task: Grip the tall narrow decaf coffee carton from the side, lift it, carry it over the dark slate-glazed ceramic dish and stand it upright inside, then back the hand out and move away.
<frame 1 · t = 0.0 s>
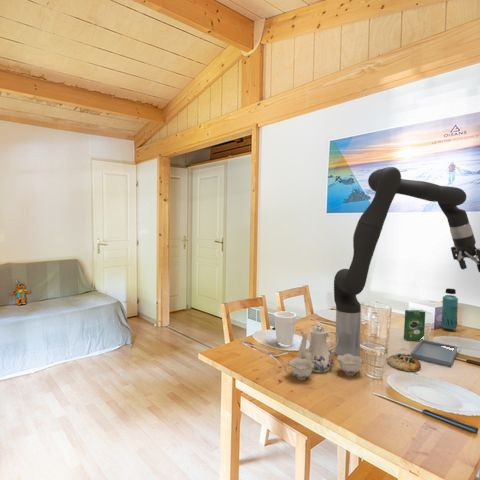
hand: (472, 270, 139), 31 cm above the table, tool tilted 20°, fingers open, 8 cm apart
dish: (434, 354, 129), on the table
chinaware: (321, 372, 115), on the table
foam cup: (284, 345, 140), on the table
bread roll: (403, 366, 119), on the table
coffee box: (414, 340, 145), on the table
beverage bottle: (449, 330, 158), on the table
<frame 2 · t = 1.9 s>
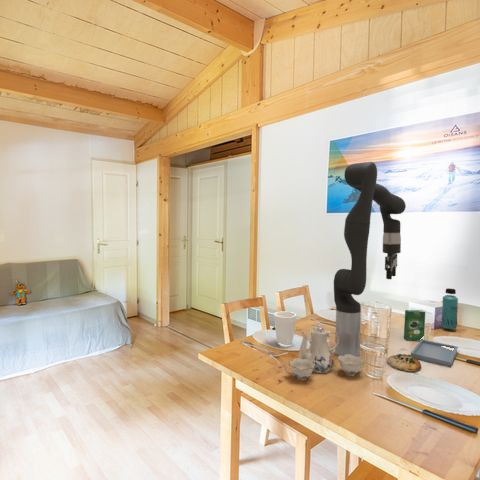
hand: (391, 277, 152), 26 cm above the table, tool pointing down, fingers open, 8 cm apart
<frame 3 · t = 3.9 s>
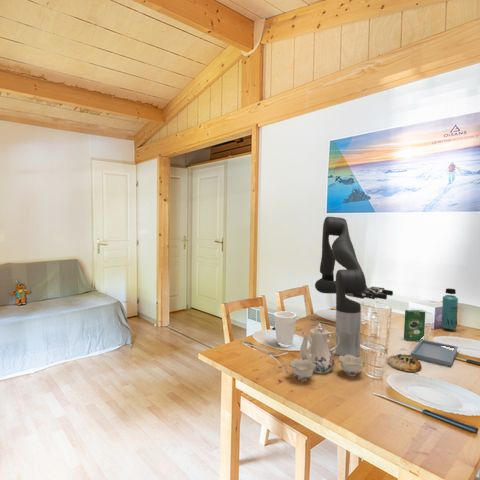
hand: (389, 295, 151), 18 cm above the table, tool horizontal, fingers open, 8 cm apart
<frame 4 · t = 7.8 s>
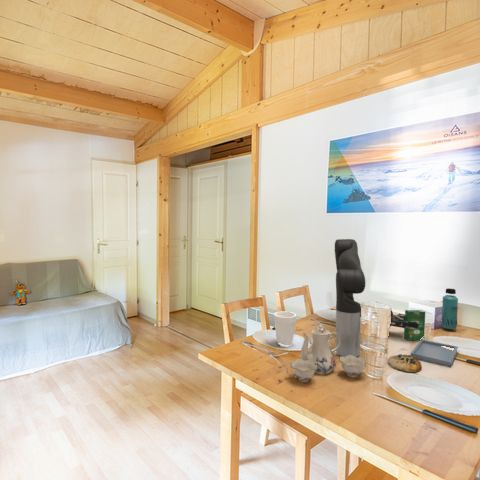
hand: (420, 323, 143), 8 cm above the table, tool horizontal, fingers closed on coffee box, 7 cm apart
coffee box: (414, 340, 145), on the table, touching gripper
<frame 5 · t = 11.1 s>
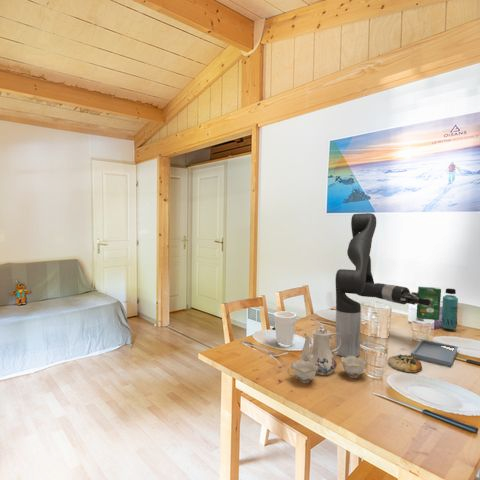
hand: (434, 301, 133), 20 cm above the table, tool horizontal, fingers closed on coffee box, 7 cm apart
coffee box: (427, 319, 135), point 12 cm above the table, touching gripper
when the fingers open (9 cm above the table, at t = 14.4 s): coffee box drops 1 cm, resting on dish.
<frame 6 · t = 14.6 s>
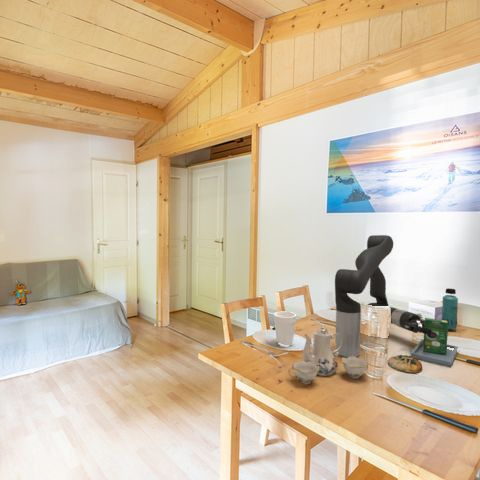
hand: (439, 331, 127), 10 cm above the table, tool horizontal, fingers open, 8 cm apart
coffee box: (434, 353, 129), point 1 cm above the table, touching dish
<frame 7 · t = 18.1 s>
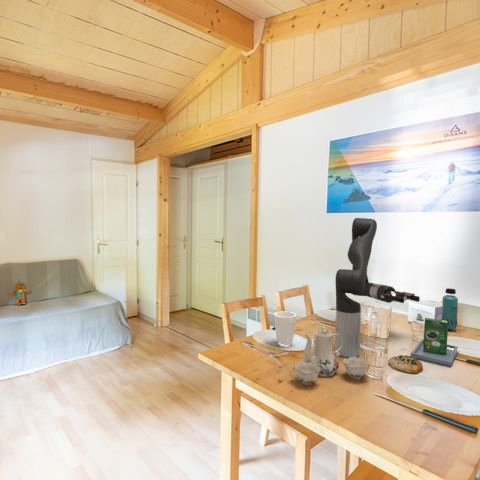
hand: (411, 299, 139), 19 cm above the table, tool horizontal, fingers open, 8 cm apart
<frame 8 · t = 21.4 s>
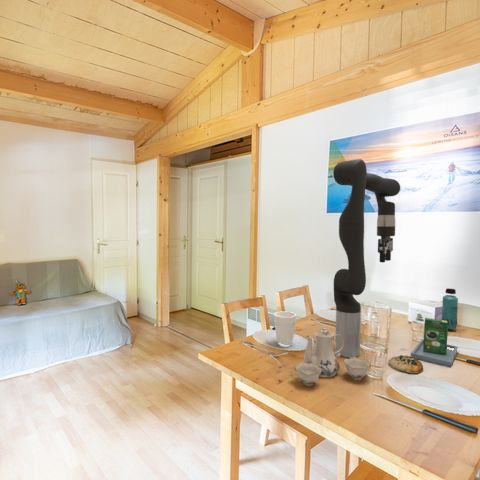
hand: (385, 261, 149), 34 cm above the table, tool pointing down, fingers open, 8 cm apart
at the end: coffee box inside the target area on the dish (0.2 cm from its centre), point 0.6 cm above the dish's base; coffee box tilted 0°; the gripper is holding nothing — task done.
